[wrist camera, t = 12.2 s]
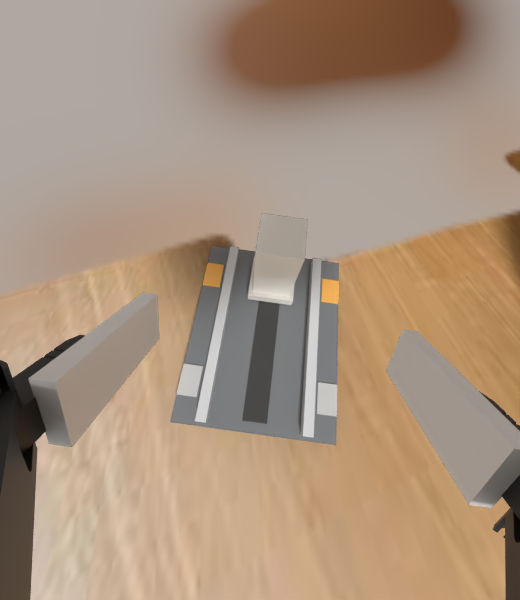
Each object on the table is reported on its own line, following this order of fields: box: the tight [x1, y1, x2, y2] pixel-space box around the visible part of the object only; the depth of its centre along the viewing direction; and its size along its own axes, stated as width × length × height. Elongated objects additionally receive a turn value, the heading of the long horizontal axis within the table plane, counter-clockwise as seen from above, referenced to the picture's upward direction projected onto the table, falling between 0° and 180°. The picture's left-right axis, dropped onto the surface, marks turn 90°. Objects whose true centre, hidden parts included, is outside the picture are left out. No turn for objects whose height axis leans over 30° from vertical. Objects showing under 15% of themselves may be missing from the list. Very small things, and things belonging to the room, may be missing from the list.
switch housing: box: [170, 246, 339, 445], centre depth 28 cm, size 16×20×4 cm
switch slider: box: [248, 213, 308, 305], centre depth 25 cm, size 5×5×9 cm
